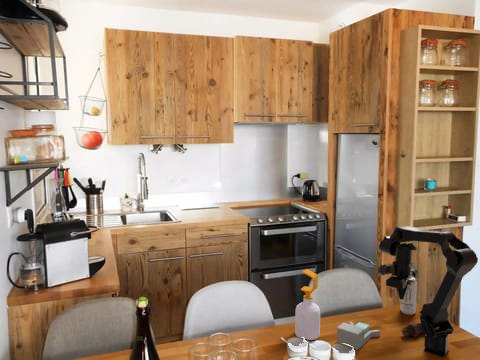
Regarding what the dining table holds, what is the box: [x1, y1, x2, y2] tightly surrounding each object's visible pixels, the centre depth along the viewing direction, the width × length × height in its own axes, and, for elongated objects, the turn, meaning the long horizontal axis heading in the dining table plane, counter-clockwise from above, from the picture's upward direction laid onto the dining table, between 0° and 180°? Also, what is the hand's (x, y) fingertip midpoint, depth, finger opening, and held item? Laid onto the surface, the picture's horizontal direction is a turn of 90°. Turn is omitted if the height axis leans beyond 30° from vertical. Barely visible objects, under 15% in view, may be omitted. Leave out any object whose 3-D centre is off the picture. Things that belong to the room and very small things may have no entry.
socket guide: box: [336, 321, 381, 351], centre depth 150 cm, size 12×15×6 cm
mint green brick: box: [354, 321, 370, 334], centre depth 149 cm, size 4×12×4 cm, turn 141°
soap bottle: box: [294, 268, 321, 341], centre depth 151 cm, size 9×9×25 cm
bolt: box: [401, 322, 438, 338], centre depth 154 cm, size 6×5×15 cm
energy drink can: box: [400, 275, 418, 316], centre depth 172 cm, size 6×6×15 cm
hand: (401, 299), depth 156 cm, fingers closed
